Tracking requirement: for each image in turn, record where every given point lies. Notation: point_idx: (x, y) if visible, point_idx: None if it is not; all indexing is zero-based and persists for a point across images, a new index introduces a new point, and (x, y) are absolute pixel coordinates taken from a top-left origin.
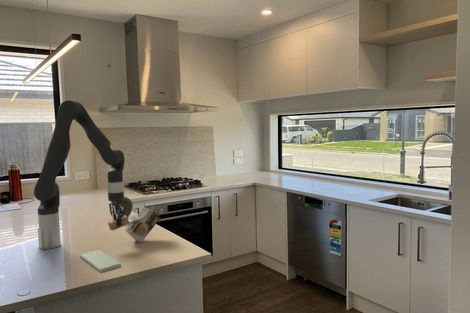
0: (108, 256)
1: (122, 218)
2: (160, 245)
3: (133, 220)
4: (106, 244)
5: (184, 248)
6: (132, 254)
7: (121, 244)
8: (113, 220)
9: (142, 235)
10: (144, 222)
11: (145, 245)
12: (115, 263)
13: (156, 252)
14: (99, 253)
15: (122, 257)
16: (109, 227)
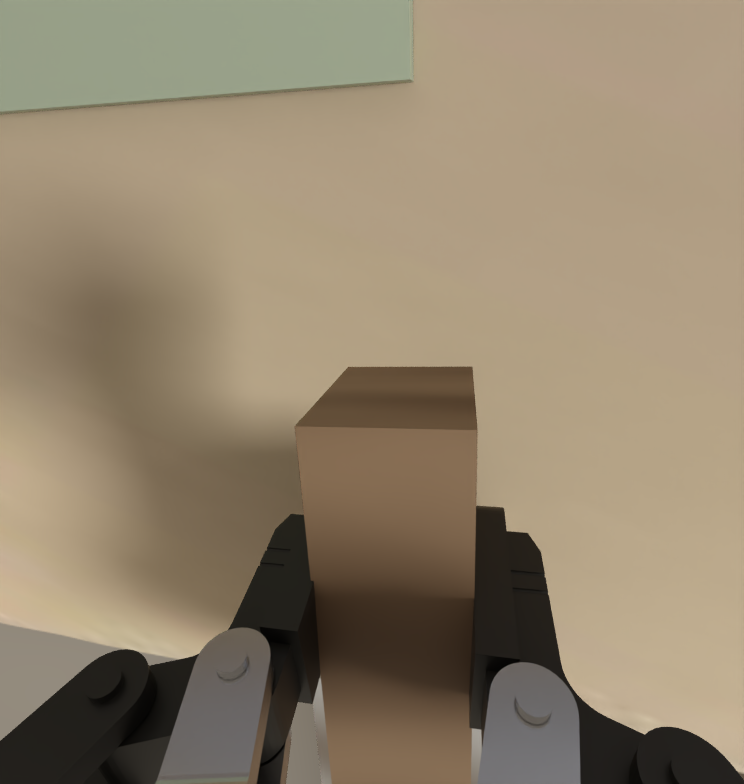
0: (93, 88)
1: (324, 702)
2: (230, 564)
3: (322, 729)
4: (641, 277)
5: (97, 605)
6: (139, 341)
7: (486, 395)
8: (422, 562)
9: None
10: None
11: (298, 509)
12: None
13: (99, 481)
14: (261, 19)
15: (101, 237)
16: (464, 380)
